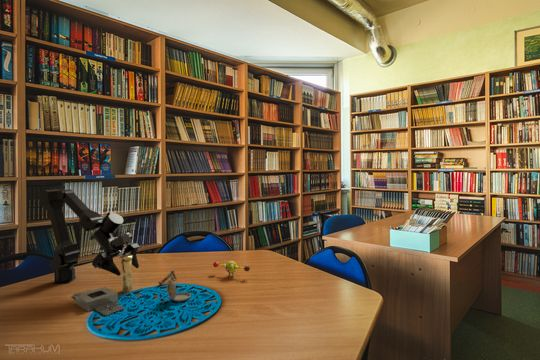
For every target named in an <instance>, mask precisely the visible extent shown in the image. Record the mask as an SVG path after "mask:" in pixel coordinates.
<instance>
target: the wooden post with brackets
mask: <svg viewBox="0 0 540 360" xmlns="http://www.w3.org/2000/svg"><path fill="white" fill-rule="evenodd" d="M175 273H176V270H175V269H174V270H170V273H169V274H167V275H166V276H165V277H164V278H163V279H162V280H158V284H159V286H164V284H165V282H166V281H167V280H168V281H169V280H170V275H171V274H172V276H173V278H172V279H173V281H174V280H177V276H176V274H175Z"/></svg>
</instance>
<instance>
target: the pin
mask: <svg viewBox="0 0 540 360" xmlns="http://www.w3.org/2000/svg"><path fill="white" fill-rule="evenodd" d="M132 258H133V255H121V256H119V260H120V263H121V293H130V292H132V291H133V267H132V266H133V265H132Z"/></svg>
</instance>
